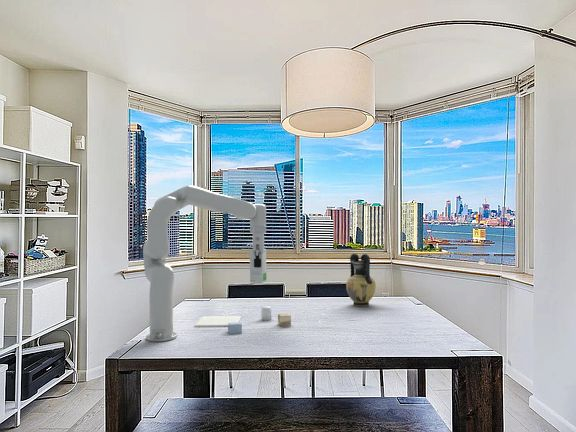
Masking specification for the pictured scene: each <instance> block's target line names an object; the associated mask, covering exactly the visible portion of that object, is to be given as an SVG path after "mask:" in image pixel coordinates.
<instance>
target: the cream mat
mask: <svg viewBox="0 0 576 432" xmlns="http://www.w3.org/2000/svg"><path fill="white" fill-rule="evenodd" d="M241 319H242V315H220V316H219V315H217V316H216V315H214V316H213V315H211V316H210V315H209V316H206V315H205V316H204V315H203V316H201V317H200V318H199V320H197V322H196V323H195V324H194V328H200V327H201V328H203V327H204V328H206V327H207V328H213V327H214V328H215V327H219V328H220V327H222V328H223V327H224V326H225V327H228V323H233V322H241ZM225 327H224V328H225Z"/></svg>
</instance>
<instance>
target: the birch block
mask: <svg viewBox="0 0 576 432" xmlns="http://www.w3.org/2000/svg"><path fill="white" fill-rule="evenodd" d="M277 325H278V326H279V327H289V326H290V327H291V326H292V315H291V314H290V313H288V312H287V313H277Z"/></svg>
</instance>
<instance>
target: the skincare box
mask: <svg viewBox="0 0 576 432" xmlns="http://www.w3.org/2000/svg"><path fill="white" fill-rule="evenodd" d="M255 251H256V250H255ZM255 251H254V252H255ZM259 252H260V250H259ZM254 256H255V254H254V253H253V248H252V249H249V283H251V284H263V283H265V282H267V249H266V248H264V254H262V253H261V257H260V259H261V267H254Z"/></svg>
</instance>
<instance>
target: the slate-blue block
mask: <svg viewBox="0 0 576 432" xmlns="http://www.w3.org/2000/svg"><path fill="white" fill-rule="evenodd" d="M242 326H243V324H242V322H241V321H240V322H233V323H228V326H227V334H228V333H229V334H242V333H243V327H242Z"/></svg>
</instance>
